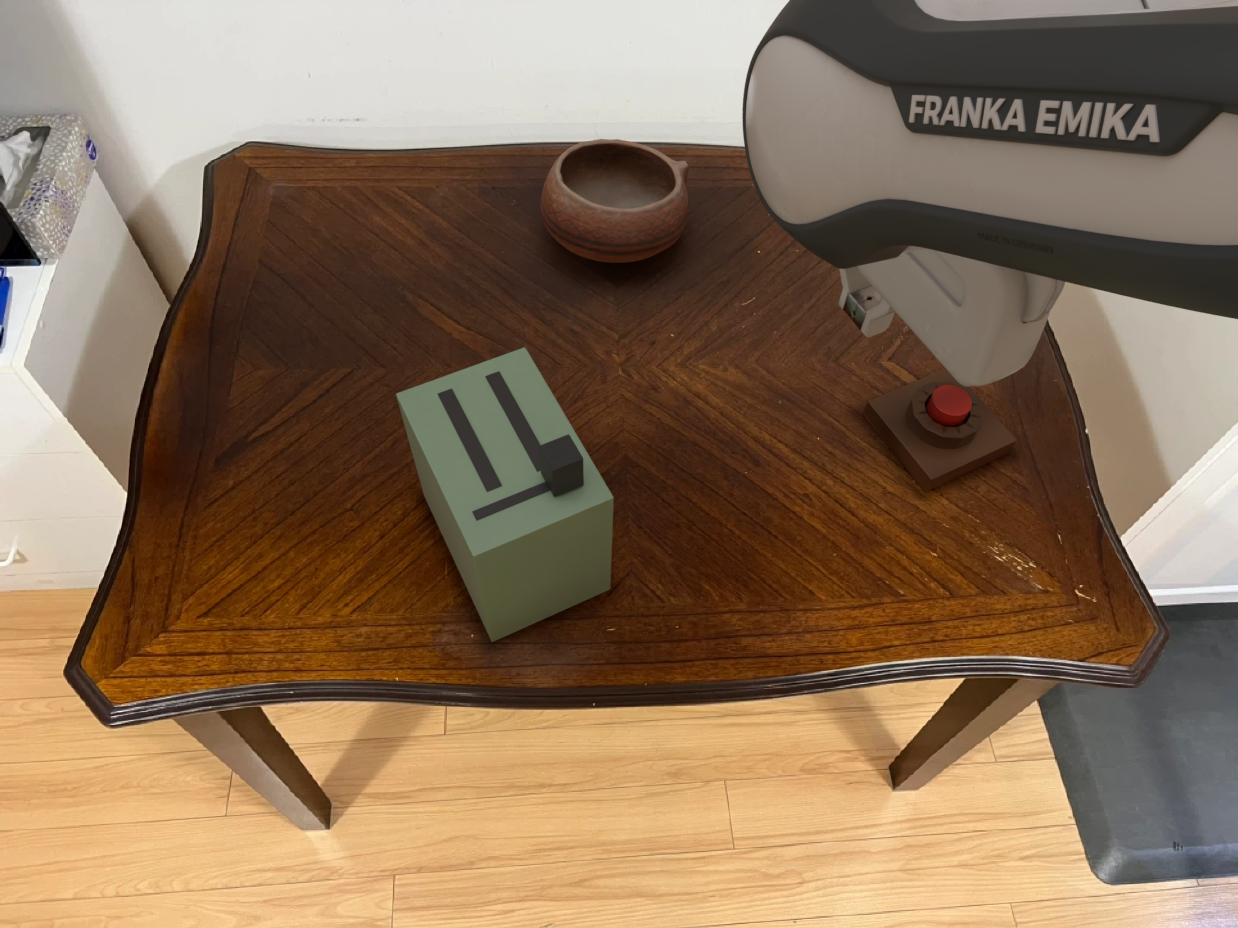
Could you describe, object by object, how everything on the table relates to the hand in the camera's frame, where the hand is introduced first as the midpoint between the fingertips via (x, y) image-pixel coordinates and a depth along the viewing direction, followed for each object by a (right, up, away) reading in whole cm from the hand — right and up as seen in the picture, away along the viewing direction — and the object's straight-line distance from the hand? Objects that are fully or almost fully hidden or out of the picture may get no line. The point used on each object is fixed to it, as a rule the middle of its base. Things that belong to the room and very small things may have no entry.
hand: (862, 318), depth 58 cm
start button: (+16, -4, +31) cm, 35 cm away
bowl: (-15, +16, +48) cm, 53 cm away
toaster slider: (-19, -10, +12) cm, 25 cm away
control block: (+16, -6, +34) cm, 38 cm away
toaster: (-24, -16, +26) cm, 39 cm away
